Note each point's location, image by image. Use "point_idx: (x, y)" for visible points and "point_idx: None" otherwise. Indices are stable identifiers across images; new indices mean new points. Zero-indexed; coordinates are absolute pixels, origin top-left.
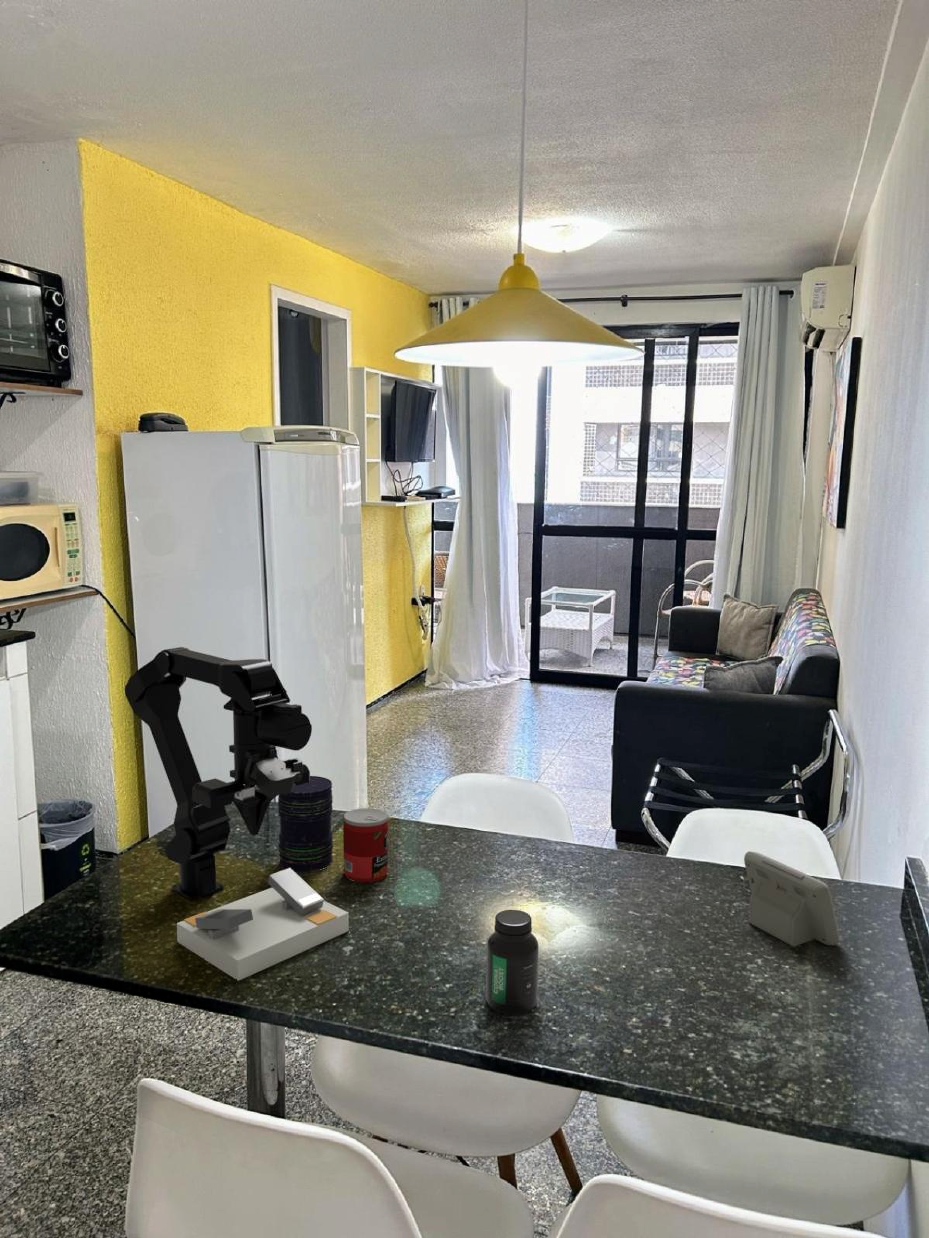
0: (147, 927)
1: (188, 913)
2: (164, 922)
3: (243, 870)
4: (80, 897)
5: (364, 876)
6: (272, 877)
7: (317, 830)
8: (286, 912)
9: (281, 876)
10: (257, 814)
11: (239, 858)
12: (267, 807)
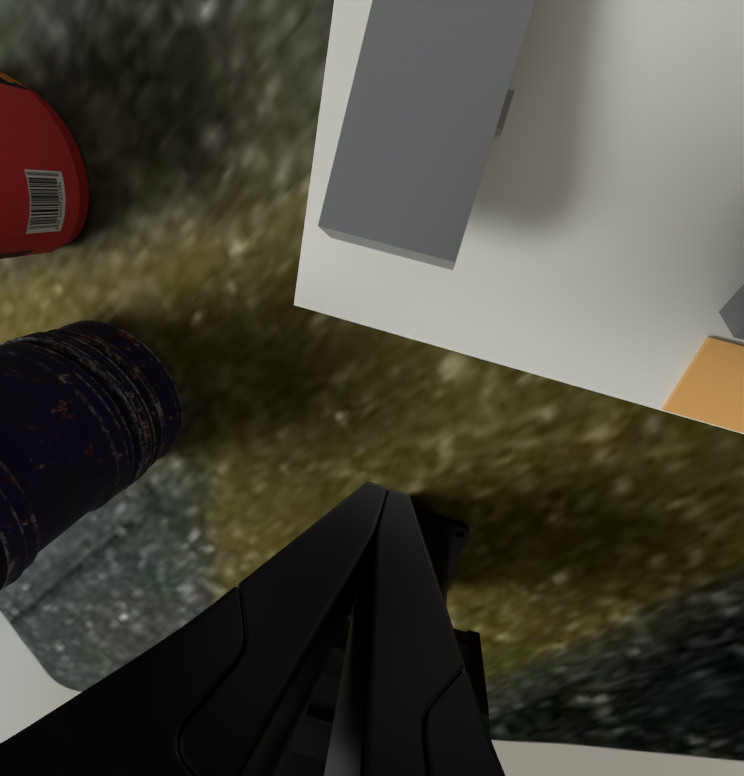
0: (669, 537)
1: (540, 490)
2: (621, 515)
3: (255, 506)
4: (568, 724)
5: (44, 115)
6: (461, 233)
7: None
8: (530, 80)
9: (414, 204)
10: (316, 657)
11: (216, 547)
12: (134, 662)
